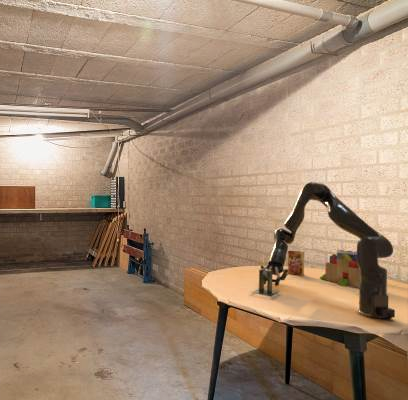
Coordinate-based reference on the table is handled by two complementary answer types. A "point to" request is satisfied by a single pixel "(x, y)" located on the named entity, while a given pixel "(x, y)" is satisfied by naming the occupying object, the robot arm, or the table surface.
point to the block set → (343, 269)
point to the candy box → (296, 262)
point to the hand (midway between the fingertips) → (270, 284)
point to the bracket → (269, 284)
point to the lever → (266, 275)
